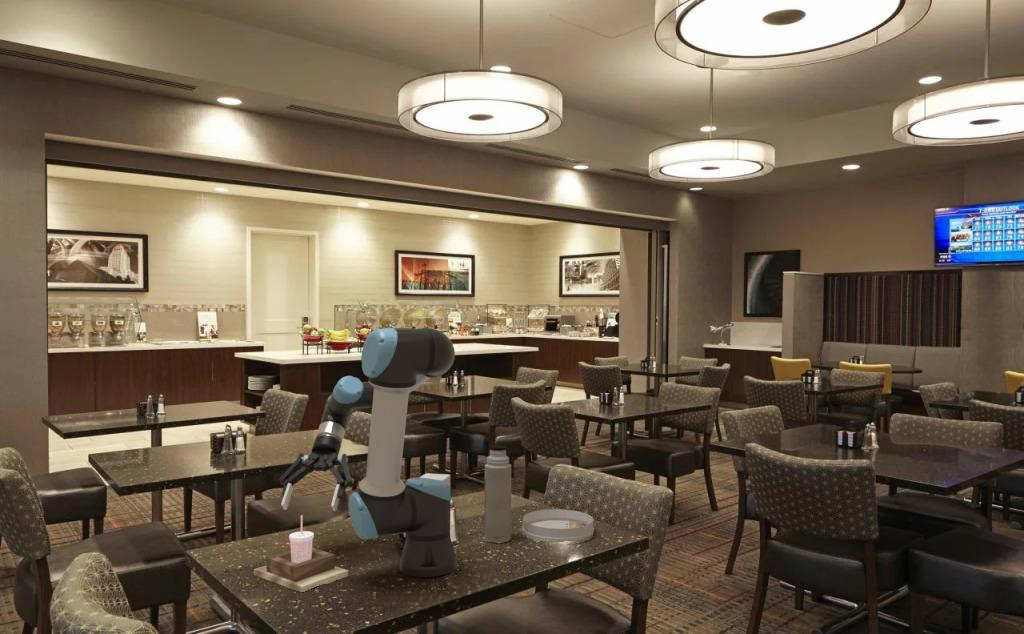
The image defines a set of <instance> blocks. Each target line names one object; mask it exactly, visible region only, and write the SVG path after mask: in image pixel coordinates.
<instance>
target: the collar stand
mask: <svg viewBox="0 0 1024 634" xmlns="http://www.w3.org/2000/svg"><path fill="white" fill-rule="evenodd" d="M335 560H336V554H334V553H330V552H328V551H323V550H321V549H318V548H314V547H312V556H311V559H310V560H307V561H304V562H301V563H298V564H297V563H294V562H292V561H291V549H290V550H287V551H284V552H282V553H281V552H280V553H277V554H275V555H270V556H267V557H266V564H265V565H263V566H260V567H257V568H254V569H253V575H254V576H255V577H259V578H260V579H263V580H266V581H269V582H272V583H274V584H277V585H278V586H279V585H280V586H282V587H285V588H288V589H290V590H293V591H296V592H298V591H299V592H298V593H301V592H304V593H306V592H305V591H307V590H308V589H311V588H314V587H316V586H319V585H322V584H326V585H328V584H331V583H333V582H336V580H337V581H339V580H341V579H344V578H348V577H349V570H348V569H344V568H342V567H338V566H336V561H335ZM307 592H308V591H307Z"/></svg>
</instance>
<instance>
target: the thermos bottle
mask: <svg viewBox="0 0 1024 634" xmlns="http://www.w3.org/2000/svg"><path fill="white" fill-rule="evenodd" d="M489 449H490V450H489V455H488V456H487V457H486V464H484V541H485V540H486V541H488V542H505V541H508V540H510V539H511V540H512V464H510V457H509V456H508V455H507V446H506V445H502V444H500V445H498V444H497V445H490V447H489ZM486 541H485V542H486ZM488 542H487V543H488Z"/></svg>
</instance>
